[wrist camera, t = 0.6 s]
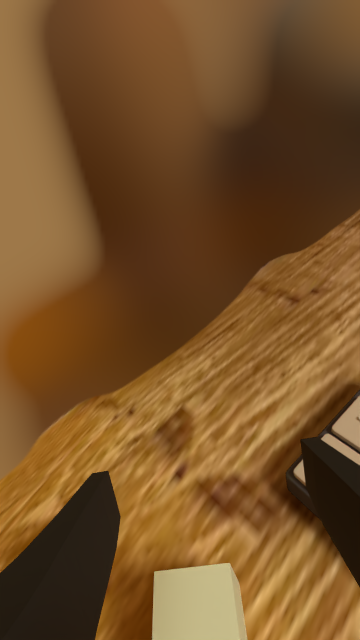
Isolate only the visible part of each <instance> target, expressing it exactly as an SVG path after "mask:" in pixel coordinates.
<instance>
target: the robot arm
mask: <svg viewBox="0 0 360 640" xmlns="http://www.w3.org/2000/svg"><path fill="white" fill-rule="evenodd" d="M301 448H302V457H303V466H304V475H305V484H306V489H307V491H308V493H309V496H310V498H311V500H312V503H313V505H314V507H315V509H316V511H317V513H318V516H319V518H320V519H321V521H322V523H323V525H324V526H325V528H326V530H327V532H328V533H329V535H330V537H331V539H332V540H333V542H334V544H335V546H336V547H337V549H338V551H339V552H340V554H341V556H342V558H343V559H344V561H345V563H346V564H347V566H348V568H349V570H350V571H351V573H352V575H353V576H354V578H355V580H356V582H357V583H358V585H359V587H360V465H359V464H357V463H355V462H354V461H352V460H351V459H349V458H348V457H346V456H345V455H343V454H342V453H340V452H339V451H337V450H336V449H335V448H333V447H332V446H330V445H329V444H327V443H326V442H324V441H323V440H321V439H320V438H318V437H313V438H307V439H301ZM119 524H120V513H119V509H118V505H117V502H116V498H115V494H114V491H113V487H112V483H111V479H110V476H109V472H108V471H104V472H98V473H92V474H91V476H90V477H89V478H88V479H87V480H86V481H85V482H84V484H83V485H82V486H81V487H80V488H79V489H78V491H77V492H76V493H75V494H74V495H73V497H72V498H71V499H70V500H69V501H68V502H67V504H66V505H65V506H64V507H63V508H62V509H61V511H60V512H59V513H58V514H57V515H56V516H55V518H54V519H53V520H52V521H51V522H50V523H49V524H48V525H47V526H46V527H45V528H44V530H43V531H42V532H41V533H40V534H39V535H38V536H37V537H36V538H35V539H34V540H33V541H32V542H31V544H30V545H29V546H28V547H27V548H26V549H25V550H24V551H23V552H22V553H21V554H20V555H19V556H18V557H17V558H16V559H15V560H14V561H13V562H12V563H11V564H9V565H8V566H7V567H6V568H5V569H4V570H3V571H2V572H1V573H0V640H95V636H96V631H97V627H98V623H99V618H100V614H101V610H102V606H103V602H104V598H105V594H106V590H107V586H108V581H109V577H110V573H111V569H112V565H113V560H114V556H115V552H116V547H117V540H118V533H119Z"/></svg>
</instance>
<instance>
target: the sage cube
mask: <svg viewBox="0 0 360 640" xmlns="http://www.w3.org/2000/svg"><path fill="white" fill-rule="evenodd" d="M152 640H247V634H246V627H245V620H244V613H243V607H242V600H241V593H240V586H239V582H238V580H237V578H236V575H235V573H234V571H233V569H232V567H231V565H230V563H224V564H216V565H207V566H198V567H189V568H180V569H172V570H163V571H154V594H153V626H152Z"/></svg>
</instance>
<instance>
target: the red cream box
mask: <svg viewBox="0 0 360 640" xmlns="http://www.w3.org/2000/svg"><path fill="white" fill-rule="evenodd" d="M318 438H320V439H321V440H323V441H324V442H326V443H327V444H329V445H330V446H332V447H333V448H335V449H336V450H337V451H339V452H340V453H342V454H343V455H345V456H346V457H348V458H349V459H351V460H352V461H354V462H355V463H357V464H359V465H360V390H359V391H358V392H357V393H356V394H355V395H354V397H353V398H352V399H351V400H350V401H349V402H348V403H347V404H346V405H345V407H344V408H343V409H342V410H341V411H340V412H339V413H338V414H337V416H336V417H335V418H334V419H333V420H332V421H331V422H330V423H329V424H328V426H327V427H326V428H325V429H324V430H323V431H322V432H321V433H320V434H319V436H318ZM286 481H287V487H288V490H289V491H290V492H291V493H292V494H293V495H294V496H295V497H296V498H297V499H299V500H300V501H301V502H302V503H303V504H304V505H305V506H306V507H307V508H308V509H309V510H310V511H311V512H313V513H314V514H315V515H316V516H317V517H318V518H319V516H318V513H317V511H316V509H315V507H314V505H313V503H312V500H311V498H310V496H309V493H308V491H307V489H306V484H305V475H304V466H303V457H302V455H301V456H300V457H299V458H298V459H297V460H296V461H295V462H294V463H293V465H292V466H291V467H290V468H289V469H288V470H287V472H286ZM319 519H320V518H319ZM320 520H321V519H320Z"/></svg>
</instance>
